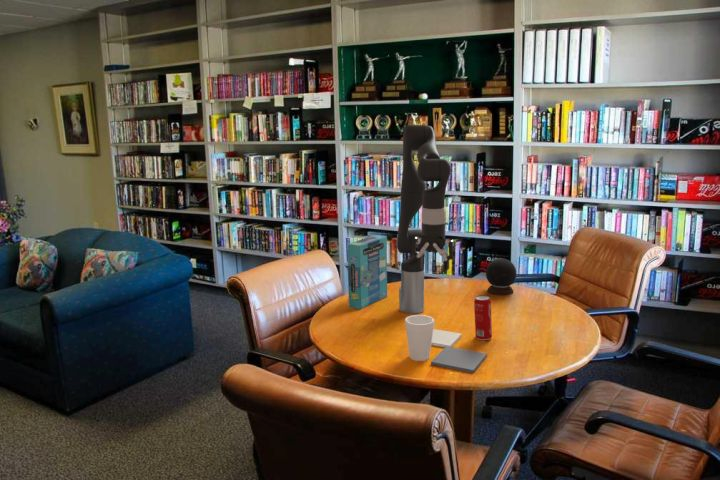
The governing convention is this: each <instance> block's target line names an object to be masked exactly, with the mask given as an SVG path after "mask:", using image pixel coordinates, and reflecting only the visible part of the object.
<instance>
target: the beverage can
mask: <svg viewBox="0 0 720 480" xmlns="http://www.w3.org/2000/svg"><path fill="white" fill-rule="evenodd" d="M473 303H474V304H473V309H474V330H475V331H474V332H475V338H476V339H477V340H480V341H489V340H491V339H492V338H493V331H492V329H493V325H492V321H493V320H492V300H491V298H490V297H489V296H487V295H477V296H475V297H474V301H473Z"/></svg>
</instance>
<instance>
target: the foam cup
mask: <svg viewBox="0 0 720 480" xmlns="http://www.w3.org/2000/svg"><path fill="white" fill-rule="evenodd" d="M404 327H405V331H406V338H407V346H408V353H409V358H410V359H411V360H413V361H416V362H425V361H427V360H429V358H430V354H431V348H432V345H431V342H432V335H433V329H435V319H434V317H432V316H430V315H424V314H412V315H410V316H406V317H405V319H404Z"/></svg>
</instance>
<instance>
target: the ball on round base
mask: <svg viewBox="0 0 720 480" xmlns="http://www.w3.org/2000/svg"><path fill="white" fill-rule="evenodd" d="M516 269H517V268H516V266H515V265H514V263H513V262H511V261H510V260H509V259H506V258H503V257H499V258H496V259H493V260H491V261H490V262H489V263H488V265H487V267H486V269H485V276H486V279H487V282H488V283H489V284H490V285H489V287H488V288H487V293H489V294H492V295H495V296H509V295H512V294H514V289H513V287H512V285H513V283H515V281H516V278H517V270H516Z"/></svg>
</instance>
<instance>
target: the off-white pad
mask: <svg viewBox="0 0 720 480" xmlns="http://www.w3.org/2000/svg"><path fill="white" fill-rule="evenodd" d="M462 336H463V333H460V332H459V333H458V332H453V331H448V330H441V329H436V328H433V335H432V342H431V346H435V347H440V348H445V347H446V346H448V347H453V346H454V345H455V344H456V343H457V342H458V341H459V340H461V338H462Z"/></svg>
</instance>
